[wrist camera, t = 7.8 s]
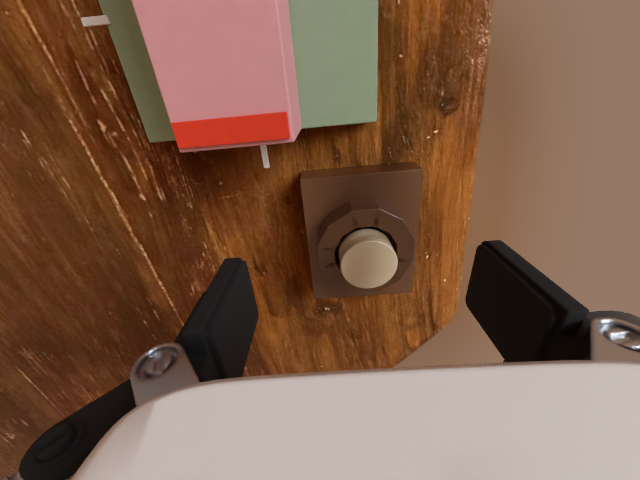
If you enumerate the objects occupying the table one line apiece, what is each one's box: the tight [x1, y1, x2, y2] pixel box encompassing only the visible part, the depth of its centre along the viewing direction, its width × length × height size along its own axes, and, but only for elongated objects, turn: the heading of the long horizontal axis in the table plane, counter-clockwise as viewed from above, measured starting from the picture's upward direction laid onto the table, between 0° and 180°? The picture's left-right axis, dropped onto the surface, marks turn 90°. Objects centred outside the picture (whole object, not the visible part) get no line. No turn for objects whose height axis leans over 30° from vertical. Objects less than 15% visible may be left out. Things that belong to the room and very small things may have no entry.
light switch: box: [300, 162, 424, 299], centre depth 20 cm, size 8×10×4 cm
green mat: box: [81, 0, 378, 168], centre depth 14 cm, size 16×16×2 cm
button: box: [339, 229, 398, 289], centre depth 18 cm, size 4×4×2 cm
